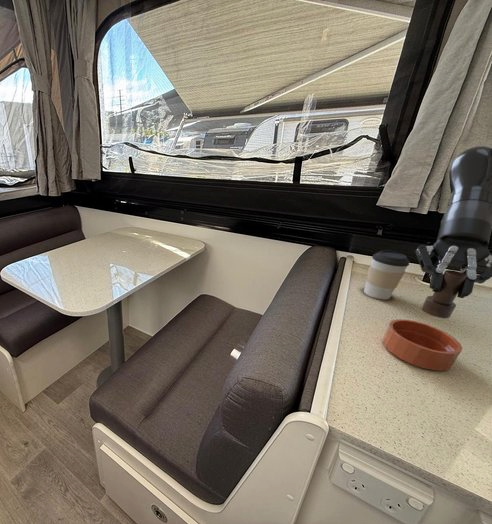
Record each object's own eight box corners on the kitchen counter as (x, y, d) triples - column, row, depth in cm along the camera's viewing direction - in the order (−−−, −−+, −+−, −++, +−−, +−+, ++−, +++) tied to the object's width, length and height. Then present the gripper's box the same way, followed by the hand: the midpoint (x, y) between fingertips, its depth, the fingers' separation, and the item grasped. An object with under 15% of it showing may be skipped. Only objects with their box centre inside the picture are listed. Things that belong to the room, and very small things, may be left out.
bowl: (431, 342, 69) (441, 325, 67) (464, 378, 59) (477, 359, 56) (373, 332, 73) (380, 315, 71) (394, 364, 63) (403, 346, 60)
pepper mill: (442, 308, 62) (462, 270, 58) (455, 320, 58) (478, 279, 54) (417, 305, 64) (435, 267, 60) (428, 316, 60) (448, 276, 56)
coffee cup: (399, 303, 86) (418, 260, 80) (365, 298, 89) (381, 257, 83) (386, 289, 94) (403, 249, 88) (356, 285, 96) (370, 247, 90)
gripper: (428, 211, 62) (409, 277, 58) (526, 222, 54) (511, 299, 50) (416, 228, 68) (399, 289, 64) (503, 240, 59) (489, 310, 56)
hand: (448, 293), depth 57 cm, fingers closed on pepper mill, 3 cm apart
